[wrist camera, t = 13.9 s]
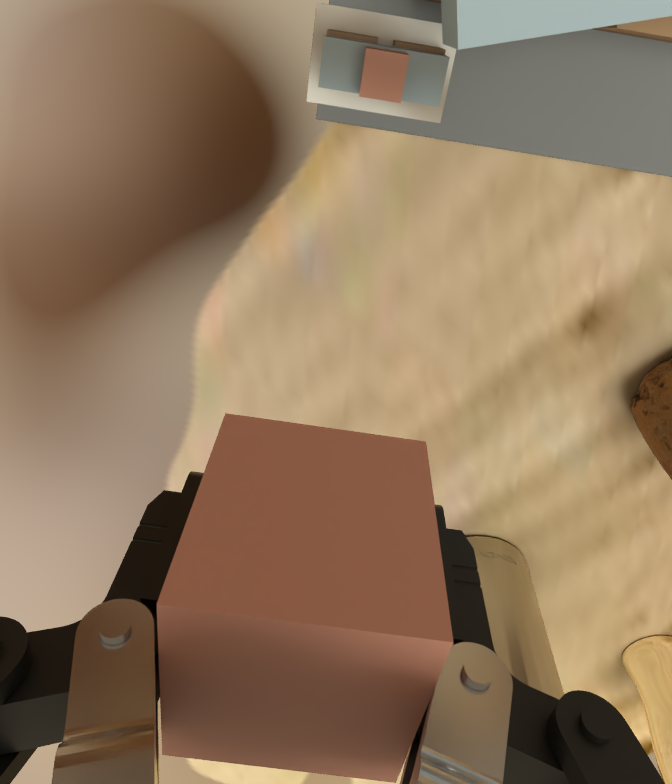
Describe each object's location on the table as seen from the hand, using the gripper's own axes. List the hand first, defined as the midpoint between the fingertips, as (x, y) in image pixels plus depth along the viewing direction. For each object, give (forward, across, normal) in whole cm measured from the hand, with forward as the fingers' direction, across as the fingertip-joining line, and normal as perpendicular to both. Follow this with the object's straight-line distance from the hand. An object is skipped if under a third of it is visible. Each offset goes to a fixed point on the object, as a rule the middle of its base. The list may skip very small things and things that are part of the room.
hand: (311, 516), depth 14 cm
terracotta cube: (0, 0, 0) cm, 0 cm away
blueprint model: (+24, -1, -8) cm, 26 cm away
